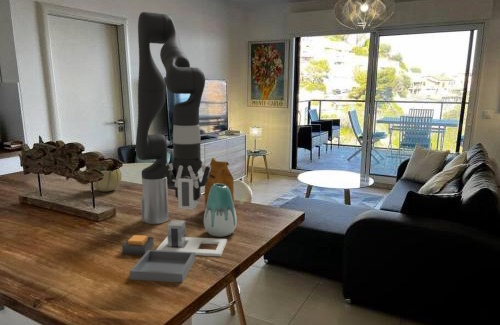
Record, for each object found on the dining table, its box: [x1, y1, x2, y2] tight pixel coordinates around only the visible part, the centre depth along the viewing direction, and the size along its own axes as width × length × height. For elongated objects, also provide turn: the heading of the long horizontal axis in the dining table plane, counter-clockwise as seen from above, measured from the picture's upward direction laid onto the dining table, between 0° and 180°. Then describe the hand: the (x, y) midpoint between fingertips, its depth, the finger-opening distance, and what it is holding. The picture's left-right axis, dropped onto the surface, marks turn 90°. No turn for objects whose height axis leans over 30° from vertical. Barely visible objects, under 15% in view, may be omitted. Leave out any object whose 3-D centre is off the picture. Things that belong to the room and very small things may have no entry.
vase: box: [203, 183, 238, 238], centre depth 129 cm, size 12×12×18 cm
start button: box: [127, 234, 149, 245], centre depth 113 cm, size 4×4×2 cm
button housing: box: [121, 235, 155, 256], centre depth 114 cm, size 7×7×4 cm
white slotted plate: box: [155, 235, 228, 257], centre depth 116 cm, size 20×11×2 cm, turn 84°
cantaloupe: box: [93, 168, 123, 192], centre depth 181 cm, size 15×15×15 cm
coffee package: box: [204, 157, 235, 209], centre depth 151 cm, size 10×12×22 cm
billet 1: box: [166, 219, 187, 248], centre depth 116 cm, size 4×5×9 cm
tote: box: [129, 249, 196, 283], centre depth 102 cm, size 14×13×4 cm
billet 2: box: [177, 176, 198, 211], centre depth 106 cm, size 4×5×9 cm
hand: (188, 199), depth 107 cm, fingers closed on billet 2, 4 cm apart
